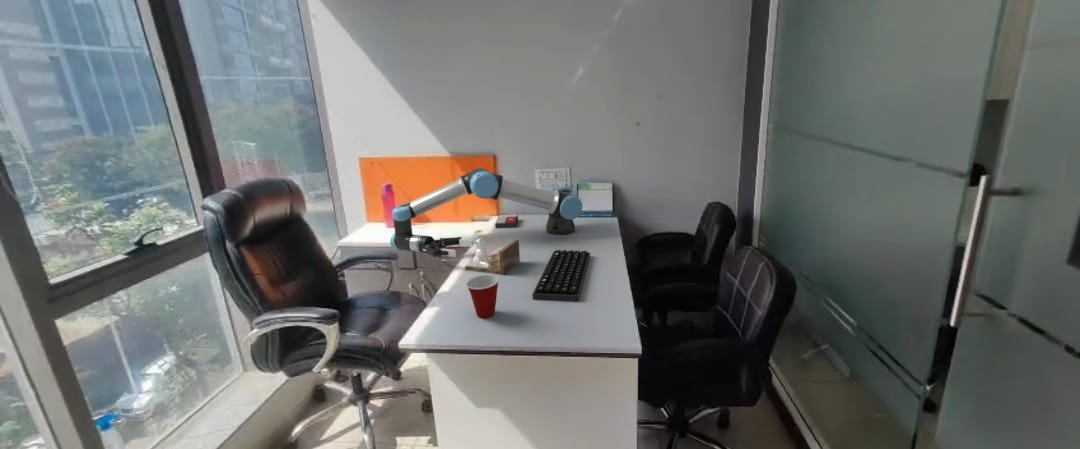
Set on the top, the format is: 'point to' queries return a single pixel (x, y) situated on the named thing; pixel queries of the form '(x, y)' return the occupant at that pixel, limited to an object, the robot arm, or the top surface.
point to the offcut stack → (495, 259)
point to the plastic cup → (483, 294)
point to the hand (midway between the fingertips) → (464, 248)
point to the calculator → (506, 221)
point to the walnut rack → (503, 260)
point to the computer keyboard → (563, 276)
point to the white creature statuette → (481, 255)
